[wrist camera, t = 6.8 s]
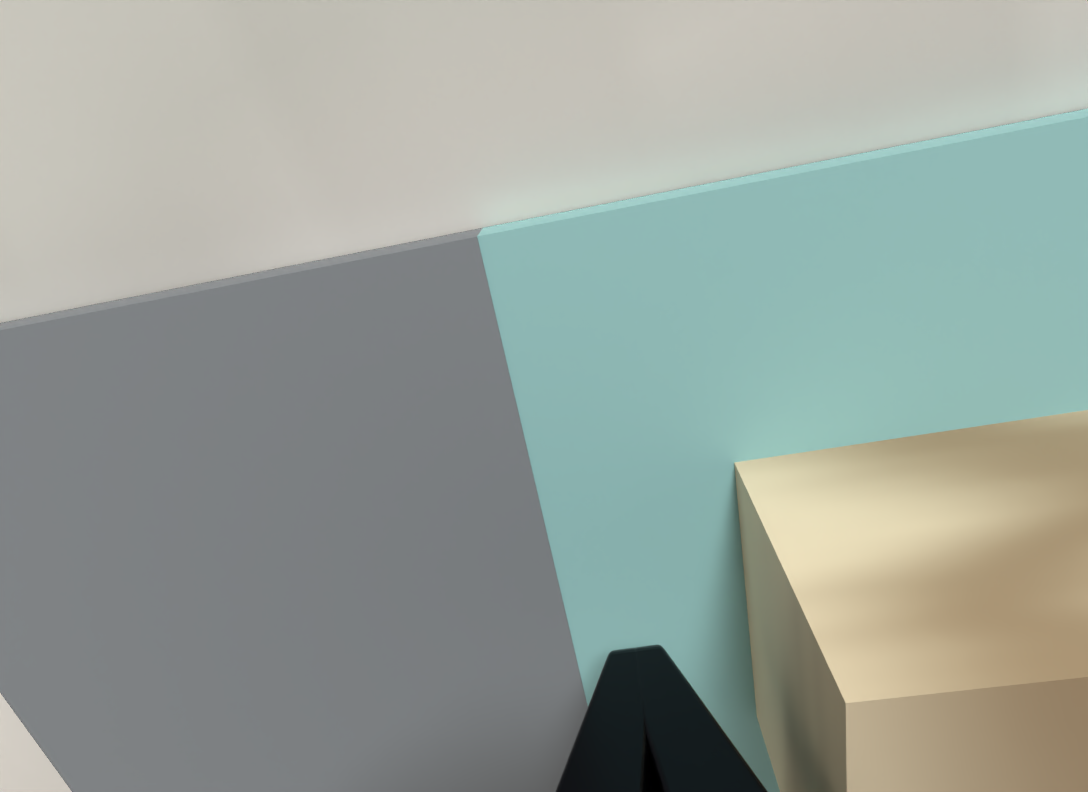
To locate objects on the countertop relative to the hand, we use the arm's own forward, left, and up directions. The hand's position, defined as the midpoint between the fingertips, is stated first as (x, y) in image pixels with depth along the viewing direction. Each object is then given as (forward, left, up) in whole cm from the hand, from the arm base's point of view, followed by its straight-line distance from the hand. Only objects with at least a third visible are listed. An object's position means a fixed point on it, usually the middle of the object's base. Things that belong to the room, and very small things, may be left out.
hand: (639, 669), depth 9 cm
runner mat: (+1, 0, -2) cm, 2 cm away
